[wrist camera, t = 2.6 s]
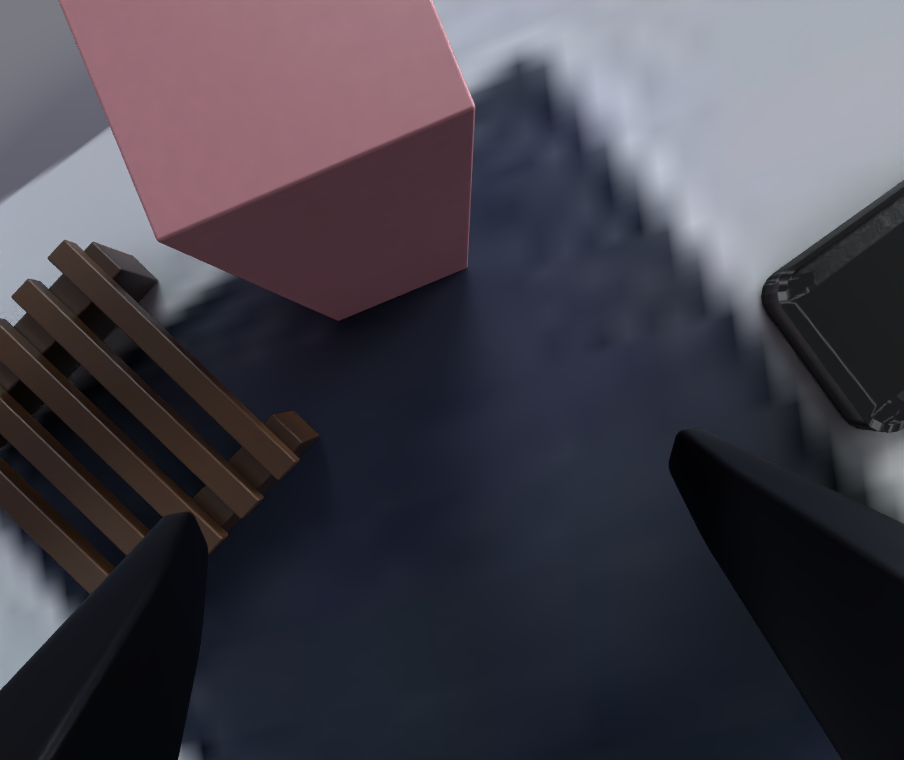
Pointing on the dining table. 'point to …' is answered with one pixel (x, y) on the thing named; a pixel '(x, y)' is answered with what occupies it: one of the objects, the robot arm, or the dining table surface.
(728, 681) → the dining table surface
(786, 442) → the dining table surface
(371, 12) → the box
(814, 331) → the phone
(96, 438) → the rack
